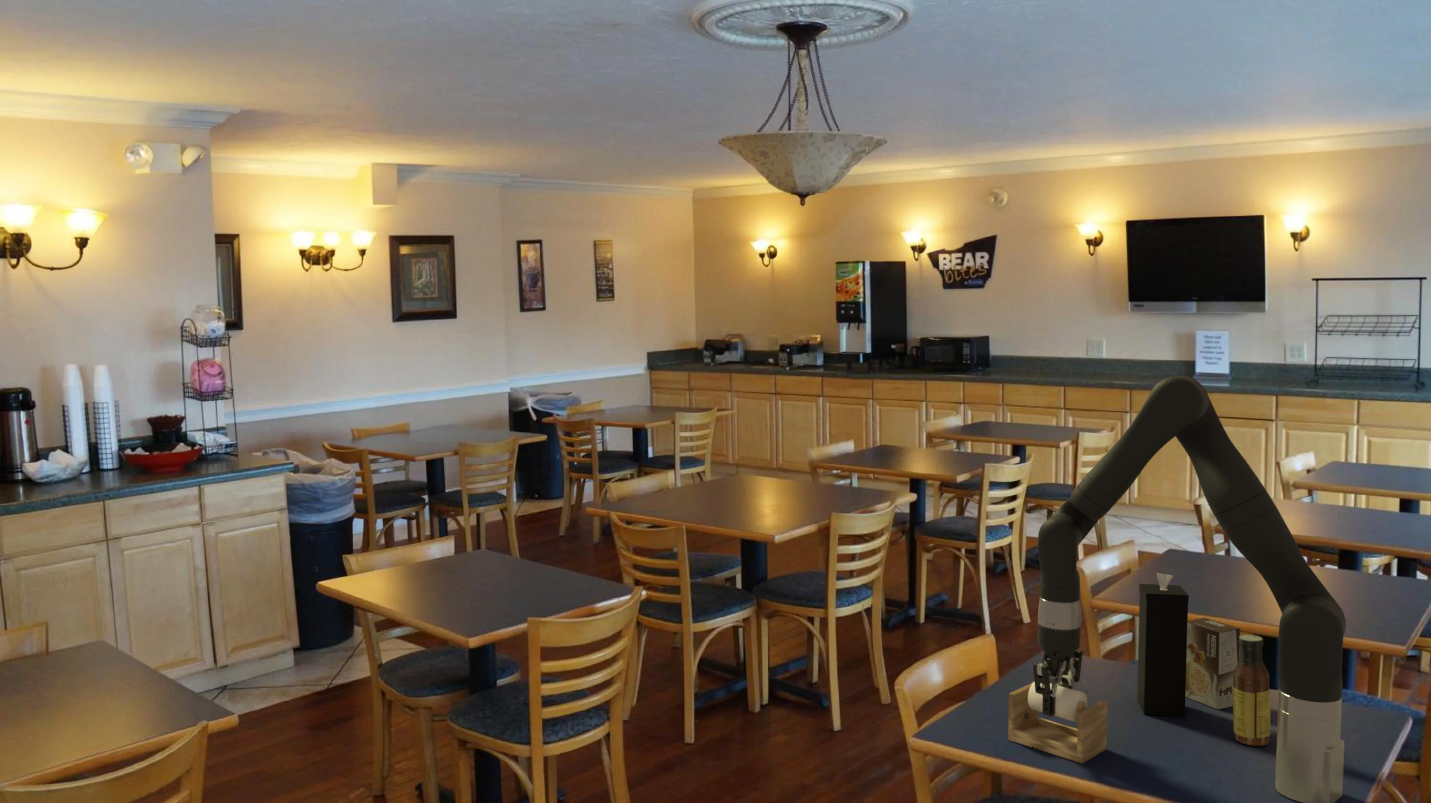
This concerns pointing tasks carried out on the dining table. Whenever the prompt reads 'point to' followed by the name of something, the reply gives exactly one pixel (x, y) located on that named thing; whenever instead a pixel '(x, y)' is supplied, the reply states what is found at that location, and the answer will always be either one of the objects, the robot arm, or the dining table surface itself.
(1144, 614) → the tissue box
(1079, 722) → the holder
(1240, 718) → the sauce bottle
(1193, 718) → the dining table surface
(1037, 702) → the cylinder
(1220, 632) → the coffee box
